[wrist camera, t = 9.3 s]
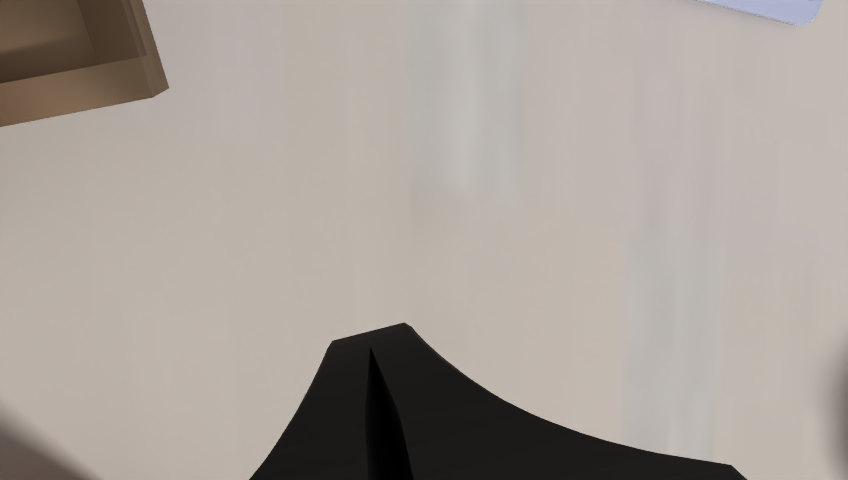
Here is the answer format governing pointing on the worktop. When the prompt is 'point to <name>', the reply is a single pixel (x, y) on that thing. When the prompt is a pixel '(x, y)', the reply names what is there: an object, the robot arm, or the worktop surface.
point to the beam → (74, 57)
